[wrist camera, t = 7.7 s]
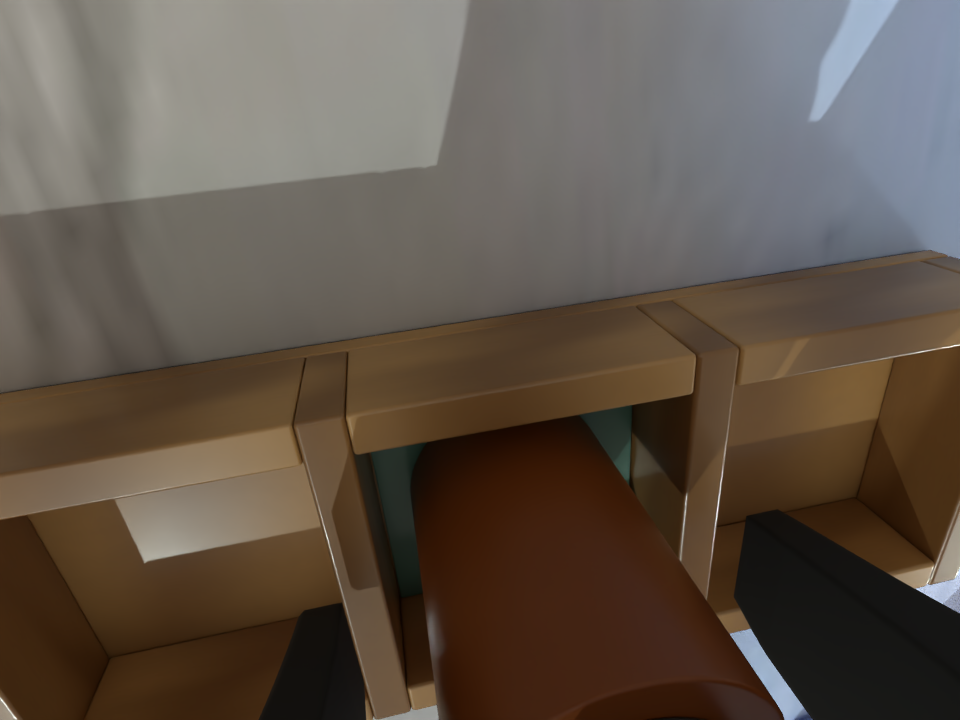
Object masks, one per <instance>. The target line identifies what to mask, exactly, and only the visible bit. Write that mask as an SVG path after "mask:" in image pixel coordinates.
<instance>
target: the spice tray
mask: <svg viewBox="0 0 960 720" xmlns="http://www.w3.org/2000/svg"><path fill="white" fill-rule="evenodd" d="M574 415H578V416H580V417H581V418H582V419H583V420H584V421H585V422H586V424H587V425H588V426H589V427H590V429H591V430H592V432H593V433H594V435H595V436H596V437H597V439H598V440H599V442H600V443H601V445H602V446H603V448H604V449H605V451H606V452H607V454H608V455H609V457H610V458H611V460H612V461H613V463H614V464H615V466H616V467H617V469H618V470H619V472H620V473H621V474H622V476H623V477H624V479H625V480H626V482H627V483H628V485H629V486H630V488H631V489H632V491H633V492H634V494H635V495H636V497H637V498H638V500H639V501H640V503H641V504H642V506H643V507H644V508H645V510H646V511H647V513H648V514H649V516H650V517H651V519H652V520H653V522H654V523H655V525H656V526H657V528H658V529H659V531H660V532H661V534H662V535H663V537H664V538H665V540H666V541H667V542H668V544H669V545H670V547H671V548H672V550H673V551H674V553H675V554H676V556H677V557H678V559H679V560H680V562H681V563H682V565H683V566H684V568H685V569H686V571H687V572H688V574H689V575H690V577H691V578H692V579H693V581H694V582H695V584H696V585H697V587H698V588H699V590H700V591H701V593H702V594H703V596H704V597H705V599H706V600H707V602H708V603H709V605H710V606H711V608H712V609H713V611H714V612H715V613H716V615H717V616H718V618H719V619H720V621H721V622H722V624H723V625H724V627H725V628H726V630H727V631H728V633H729V634H730V633H734V632H738V631H743V630H747V629H751V628H750V626H749V624H748V622H747V620H746V619H745V617H744V615H743V613H742V611H741V609H740V607H739V606H738V604H737V602H736V600H735V598H734V590H735V584H736V578H737V572H738V565H739V559H740V553H741V547H742V540H743V534H744V528H745V522H746V516H748V515H753V514H757V513H762V512H767V511H771V510H776V509H778V510H780V511H782V512H783V513H785V514H787V515H789V516H791V517H792V518H794V519H796V520H798V521H799V522H801V523H803V524H805V525H806V526H808V527H810V528H812V529H813V530H815V531H817V532H818V533H820V534H822V535H823V536H825V537H827V538H829V539H830V540H832V541H834V542H835V543H837V544H839V545H840V546H842V547H844V548H845V549H847V550H849V551H851V552H852V553H854V554H856V555H857V556H859V557H861V558H862V559H864V560H866V561H867V562H869V563H871V564H873V565H874V566H876V567H878V568H880V569H881V570H883V571H885V572H886V573H888V574H890V575H892V576H893V577H895V578H897V579H899V580H900V581H902V582H904V583H906V584H907V585H909V586H911V587H913V588H914V589H915V588H920V587H924V586H926V585H927V584H929V585H932V584H936V583H940V582H945V581H949V580H953V579H955V578H956V576H957V574H958V571H959V569H960V259H958V258H954V257H951V256H950V257H948V256H947V255H945V254H942V253H939V252H935V251H932V250H928V251H921V252H915V253H908V254H902V255H895V256H889V257H882V258H876V259H870V260H863V261H857V262H850V263H844V264H837V265H831V266H824V267H818V268H811V269H805V270H798V271H792V272H785V273H779V274H773V275H766V276H760V277H753V278H747V279H740V280H734V281H727V282H721V283H714V284H708V285H701V286H695V287H688V288H682V289H675V290H669V291H663V292H656V293H650V294H643V295H637V296H630V297H624V298H617V299H611V300H604V301H598V302H591V303H585V304H578V305H572V306H566V307H559V308H553V309H546V310H540V311H533V312H527V313H520V314H514V315H507V316H501V317H494V318H488V319H481V320H475V321H468V322H462V323H456V324H449V325H443V326H436V327H430V328H423V329H417V330H410V331H404V332H397V333H391V334H384V335H378V336H371V337H365V338H359V339H352V340H346V341H339V342H333V343H326V344H320V345H313V346H307V347H300V348H294V349H287V350H281V351H274V352H268V353H261V354H255V355H249V356H242V357H236V358H229V359H223V360H216V361H210V362H203V363H197V364H190V365H184V366H177V367H171V368H164V369H158V370H152V371H145V372H139V373H132V374H126V375H119V376H113V377H106V378H100V379H93V380H87V381H80V382H74V383H67V384H61V385H54V386H48V387H42V388H35V389H29V390H22V391H16V392H9V393H3V394H0V720H258V719H259V717H260V715H261V713H262V710H263V708H264V706H265V704H266V701H267V699H268V696H269V694H270V692H271V689H272V687H273V684H274V682H275V679H276V677H277V674H278V672H279V669H280V667H281V664H282V662H283V659H284V657H285V654H286V651H287V649H288V646H289V643H290V640H291V638H292V635H293V632H294V629H295V626H296V623H297V620H298V617H299V616H300V615H301V613H302V612H303V611H304V610H308V609H313V608H318V607H322V606H327V605H332V604H336V603H341V602H342V604H343V608H344V612H345V615H346V619H347V622H348V626H349V630H350V633H351V637H352V640H353V644H354V648H355V651H356V655H357V658H358V662H359V666H360V669H361V673H362V676H363V680H364V687H365V705H366V720H372V719H373V716H374V718H375V719H382V718H386V717H390V716H394V715H398V714H402V713H406V712H409V711H410V709H411V707H412V709H413V710H418V709H422V708H426V707H430V706H434V705H437V700H436V692H435V684H434V677H433V669H432V661H431V653H430V645H429V637H428V629H427V621H426V613H425V605H424V598H423V590H422V582H421V574H420V566H419V558H418V550H417V542H416V534H415V527H414V519H413V511H412V503H411V493H410V487H411V478H412V473H413V469H414V466H415V464H416V461H417V459H418V457H419V455H420V453H421V451H422V450H423V448H424V446H425V445H426V444H427V442H431V441H437V440H442V439H448V438H453V437H459V436H464V435H470V434H475V433H481V432H486V431H492V430H497V429H503V428H508V427H514V426H519V425H525V424H530V423H536V422H541V421H547V420H552V419H558V418H563V417H569V416H574Z"/></svg>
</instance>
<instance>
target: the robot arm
mask: <svg viewBox="0 0 960 720" xmlns="http://www.w3.org/2000/svg"><path fill="white" fill-rule="evenodd" d="M734 598H735V600H736V602H737V604H738V606H739V607H740V609H741V611H742V613H743V615H744V617H745V619H746V620H747V622H748V624H749V626H750V628H751V629H752V631H753V633H754V635H755V636H756V638H757V640H758V641H759V643H760V645H761V647H762V648H763V650H764V652H765V653H766V655H767V656H768V658H769V659H770V660H771V662H772V663H773V665H774V666H775V668H776V669H777V670H778V672H779V673H780V675H781V676H782V677H783V679H784V680H785V682H786V683H787V684H788V686H789V687H790V689H791V690H792V691H793V693H794V694H795V696H796V697H797V698H798V700H799V701H800V703H801V704H802V705H803V707H804V708H805V709H806V711H807V712H808V714H809V715H810V716H811V718H812V719H813V720H960V613H958V612H956V611H954V610H952V609H950V608H949V607H947V606H945V605H943V604H941V603H939V602H938V601H936V600H934V599H932V598H930V597H929V596H927V595H925V594H923V593H921V592H920V591H918V590H916V589H914V588H913V587H911V586H909V585H907V584H906V583H904V582H902V581H900V580H899V579H897V578H895V577H893V576H892V575H890V574H888V573H886V572H885V571H883V570H881V569H880V568H878V567H876V566H874V565H873V564H871V563H869V562H867V561H866V560H864V559H862V558H861V557H859V556H857V555H856V554H854V553H852V552H851V551H849V550H847V549H845V548H844V547H842V546H840V545H839V544H837V543H835V542H834V541H832V540H830V539H829V538H827V537H825V536H823V535H822V534H820V533H818V532H817V531H815V530H813V529H812V528H810V527H808V526H806V525H805V524H803V523H801V522H799V521H798V520H796V519H794V518H792V517H791V516H789V515H787V514H785V513H783V512H782V511H780V510H778V509H776V510H771V511H767V512H762V513H757V514H753V515H748V516H746V522H745V528H744V534H743V540H742V547H741V553H740V559H739V565H738V572H737V578H736V584H735V590H734ZM258 720H366V705H365V687H364V680H363V676H362V673H361V669H360V666H359V662H358V658H357V655H356V651H355V648H354V644H353V640H352V637H351V633H350V630H349V626H348V622H347V619H346V615H345V612H344V608H343V604H342V602H341V603H336V604H332V605H327V606H322V607H318V608H313V609H308V610H304V611H303V612H302V613H301V615H300V616H299V617H298V620H297V623H296V626H295V629H294V632H293V635H292V638H291V640H290V643H289V646H288V649H287V651H286V654H285V657H284V659H283V662H282V664H281V667H280V669H279V672H278V674H277V677H276V679H275V682H274V684H273V687H272V689H271V692H270V694H269V696H268V699H267V701H266V704H265V706H264V708H263V710H262V713H261V715H260V717H259V719H258Z"/></svg>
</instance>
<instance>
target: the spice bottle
mask: <svg viewBox="0 0 960 720" xmlns="http://www.w3.org/2000/svg"><path fill="white" fill-rule="evenodd" d="M410 493H411V503H412V511H413V519H414V527H415V534H416V542H417V550H418V558H419V566H420V574H421V582H422V590H423V598H424V605H425V613H426V621H427V629H428V637H429V645H430V653H431V661H432V669H433V677H434V684H435V692H436V700H437V708H438V716H439V720H784V717H783V714H782V712H781V710H780V709H779V707H778V705H777V704H776V702H775V701H774V699H773V698H772V696H771V695H770V693H769V692H768V690H767V689H766V687H765V686H764V684H763V683H762V681H761V680H760V679H759V677H758V676H757V674H756V673H755V671H754V670H753V668H752V667H751V665H750V664H749V662H748V661H747V659H746V658H745V656H744V655H743V653H742V652H741V650H740V649H739V647H738V646H737V645H736V643H735V642H734V640H733V639H732V637H731V636H730V634H729V633H728V631H727V630H726V628H725V627H724V625H723V624H722V622H721V621H720V619H719V618H718V616H717V615H716V613H715V612H714V611H713V609H712V608H711V606H710V605H709V603H708V602H707V600H706V599H705V597H704V596H703V594H702V593H701V591H700V590H699V588H698V587H697V585H696V584H695V582H694V581H693V579H692V578H691V577H690V575H689V574H688V572H687V571H686V569H685V568H684V566H683V565H682V563H681V562H680V560H679V559H678V557H677V556H676V554H675V553H674V551H673V550H672V548H671V547H670V545H669V544H668V542H667V541H666V540H665V538H664V537H663V535H662V534H661V532H660V531H659V529H658V528H657V526H656V525H655V523H654V522H653V520H652V519H651V517H650V516H649V514H648V513H647V511H646V510H645V508H644V507H643V506H642V504H641V503H640V501H639V500H638V498H637V497H636V495H635V494H634V492H633V491H632V489H631V488H630V486H629V485H628V483H627V482H626V480H625V479H624V477H623V476H622V474H621V473H620V472H619V470H618V469H617V467H616V466H615V464H614V463H613V461H612V460H611V458H610V457H609V455H608V454H607V452H606V451H605V449H604V448H603V446H602V445H601V443H600V442H599V440H598V439H597V437H596V436H595V435H594V433H593V432H592V430H591V429H590V427H589V426H588V425H587V424H586V422H585V421H584V420H583V419H582V418H581V417H580V416H578V415H574V416H569V417H563V418H558V419H552V420H547V421H541V422H536V423H530V424H525V425H519V426H514V427H508V428H503V429H497V430H492V431H486V432H481V433H475V434H470V435H464V436H459V437H453V438H448V439H442V440H437V441H431V442H427V444H426V445H425V446H424V448H423V450H422V451H421V453H420V455H419V457H418V459H417V461H416V464H415V466H414V469H413V473H412V478H411V487H410Z"/></svg>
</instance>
